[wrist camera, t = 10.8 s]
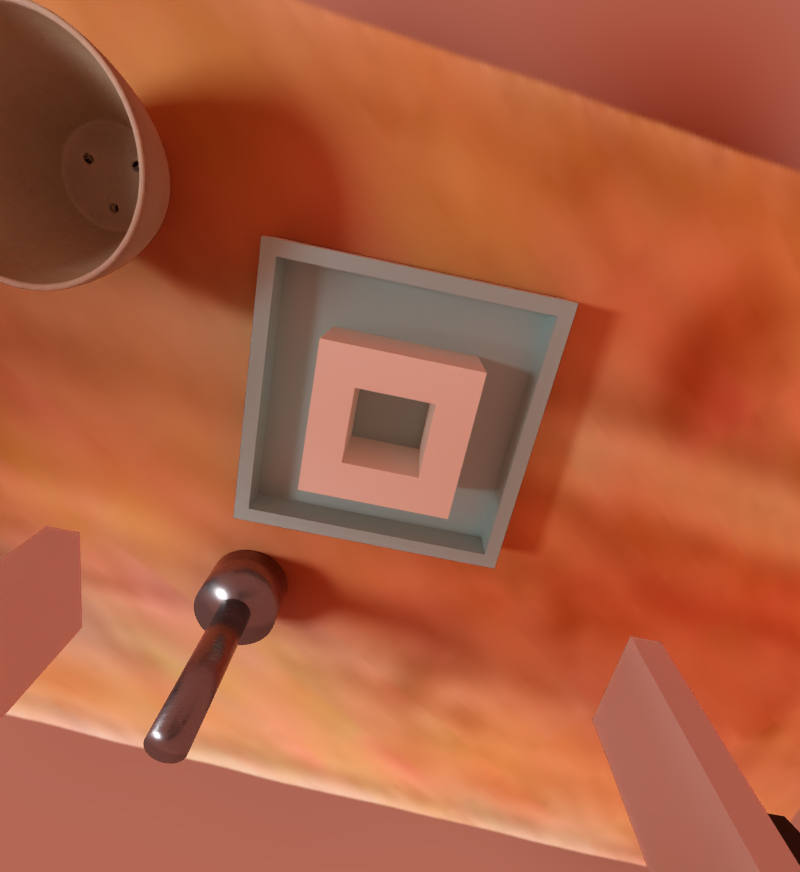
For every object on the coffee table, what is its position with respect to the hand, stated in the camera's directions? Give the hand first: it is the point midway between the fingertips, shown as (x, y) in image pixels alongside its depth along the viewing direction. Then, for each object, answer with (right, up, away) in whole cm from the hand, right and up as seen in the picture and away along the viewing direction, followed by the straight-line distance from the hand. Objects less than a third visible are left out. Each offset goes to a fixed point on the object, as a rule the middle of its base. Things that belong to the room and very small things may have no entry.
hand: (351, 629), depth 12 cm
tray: (+1, +6, +17) cm, 18 cm away
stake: (-9, -5, +22) cm, 24 cm away
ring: (+1, +6, +17) cm, 18 cm away
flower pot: (-13, +18, +14) cm, 26 cm away
